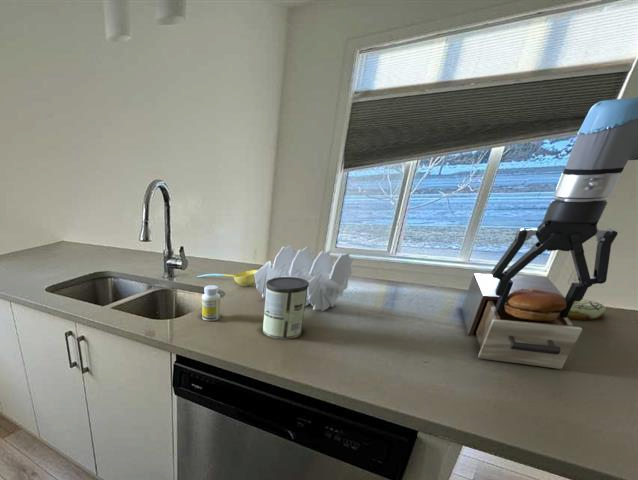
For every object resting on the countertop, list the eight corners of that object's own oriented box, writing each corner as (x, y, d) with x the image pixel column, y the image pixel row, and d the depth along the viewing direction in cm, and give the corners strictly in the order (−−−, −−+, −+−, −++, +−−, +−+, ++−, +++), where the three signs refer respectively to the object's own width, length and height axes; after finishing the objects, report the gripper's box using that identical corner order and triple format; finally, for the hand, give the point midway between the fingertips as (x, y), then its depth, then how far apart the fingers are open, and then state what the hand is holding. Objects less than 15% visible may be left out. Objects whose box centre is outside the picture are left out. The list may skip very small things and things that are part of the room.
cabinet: (547, 346, 92) (569, 302, 87) (467, 337, 99) (483, 295, 94) (529, 316, 106) (547, 277, 101) (460, 310, 113) (474, 273, 108)
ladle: (251, 288, 143) (249, 272, 141) (194, 292, 163) (191, 278, 160) (264, 281, 147) (262, 265, 145) (207, 285, 167) (204, 272, 165)
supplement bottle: (211, 313, 127) (211, 283, 122) (223, 318, 123) (224, 287, 118) (198, 318, 125) (198, 287, 120) (210, 322, 121) (210, 291, 116)
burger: (531, 324, 81) (541, 302, 79) (488, 309, 89) (496, 289, 87) (574, 318, 82) (585, 296, 80) (528, 304, 90) (536, 283, 88)
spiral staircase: (273, 305, 140) (345, 318, 122) (245, 295, 129) (319, 308, 110) (290, 252, 136) (366, 257, 118) (262, 237, 125) (342, 241, 107)
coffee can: (271, 323, 117) (276, 275, 110) (307, 330, 111) (315, 279, 103) (255, 335, 110) (259, 285, 103) (292, 343, 104) (299, 290, 97)
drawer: (569, 381, 78) (591, 340, 74) (481, 368, 85) (497, 330, 80) (541, 334, 95) (558, 299, 91) (470, 327, 102) (482, 293, 97)
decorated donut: (603, 325, 99) (611, 311, 97) (543, 318, 105) (549, 304, 103) (598, 312, 105) (605, 298, 103) (542, 305, 111) (548, 292, 110)
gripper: (505, 202, 77) (465, 312, 89) (679, 200, 67) (609, 325, 78) (499, 197, 83) (462, 301, 94) (659, 194, 72) (596, 312, 83)
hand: (529, 312), depth 86 cm, fingers closed on burger, 9 cm apart
